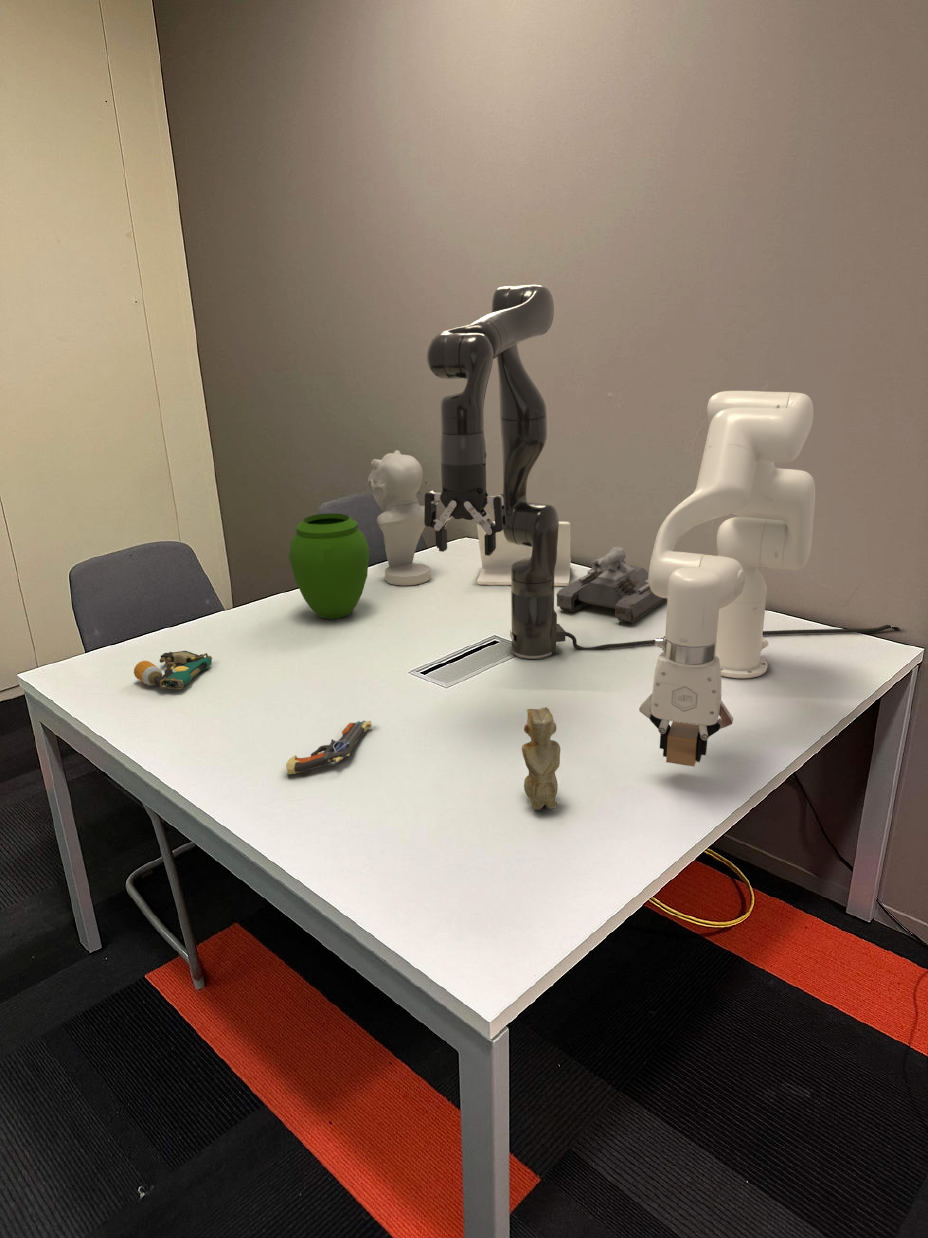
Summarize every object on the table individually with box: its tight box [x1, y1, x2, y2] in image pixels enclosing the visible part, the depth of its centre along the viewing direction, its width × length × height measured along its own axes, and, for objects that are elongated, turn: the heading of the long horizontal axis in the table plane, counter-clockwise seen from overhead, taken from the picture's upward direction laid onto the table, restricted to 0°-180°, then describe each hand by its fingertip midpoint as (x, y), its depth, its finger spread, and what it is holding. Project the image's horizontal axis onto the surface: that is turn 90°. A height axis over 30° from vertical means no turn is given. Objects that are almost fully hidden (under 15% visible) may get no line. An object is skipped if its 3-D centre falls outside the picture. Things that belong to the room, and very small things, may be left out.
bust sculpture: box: [366, 449, 432, 586], centre depth 237 cm, size 16×24×35 cm
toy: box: [556, 546, 667, 624], centre depth 212 cm, size 25×20×15 cm
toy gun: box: [285, 720, 373, 775], centre depth 148 cm, size 3×19×10 cm
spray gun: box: [133, 650, 213, 690], centre depth 180 cm, size 4×17×15 cm
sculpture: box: [521, 706, 561, 811], centre depth 129 cm, size 6×7×15 cm
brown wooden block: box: [665, 721, 700, 767], centre depth 134 cm, size 5×4×5 cm
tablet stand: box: [476, 520, 572, 587], centre depth 236 cm, size 18×25×17 cm
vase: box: [288, 512, 370, 620], centre depth 209 cm, size 20×20×24 cm
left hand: (465, 552), depth 148 cm, fingers open, 8 cm apart
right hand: (682, 754), depth 135 cm, fingers closed on brown wooden block, 4 cm apart
